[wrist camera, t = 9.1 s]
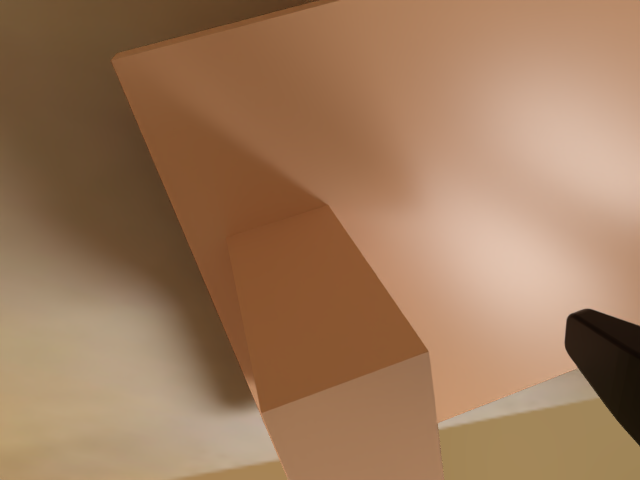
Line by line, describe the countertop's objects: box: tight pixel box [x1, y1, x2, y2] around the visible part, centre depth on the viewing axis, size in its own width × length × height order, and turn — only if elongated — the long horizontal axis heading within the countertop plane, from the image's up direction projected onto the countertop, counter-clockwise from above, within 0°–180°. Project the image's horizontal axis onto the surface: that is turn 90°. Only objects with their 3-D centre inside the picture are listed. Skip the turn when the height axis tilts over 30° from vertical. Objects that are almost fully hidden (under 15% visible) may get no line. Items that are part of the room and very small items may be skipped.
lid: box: [111, 0, 640, 480], centre depth 11 cm, size 13×13×8 cm
